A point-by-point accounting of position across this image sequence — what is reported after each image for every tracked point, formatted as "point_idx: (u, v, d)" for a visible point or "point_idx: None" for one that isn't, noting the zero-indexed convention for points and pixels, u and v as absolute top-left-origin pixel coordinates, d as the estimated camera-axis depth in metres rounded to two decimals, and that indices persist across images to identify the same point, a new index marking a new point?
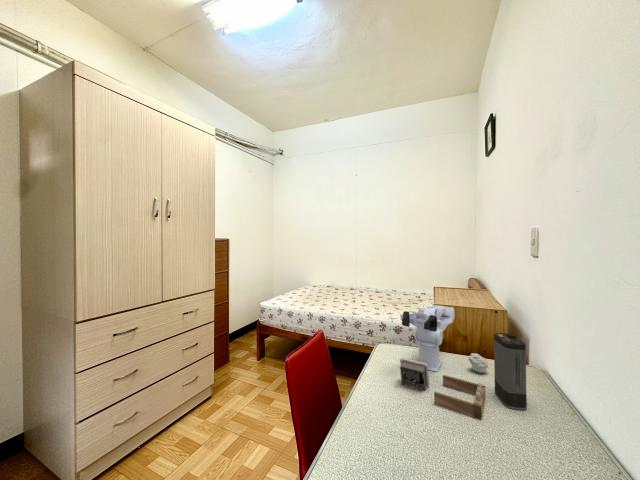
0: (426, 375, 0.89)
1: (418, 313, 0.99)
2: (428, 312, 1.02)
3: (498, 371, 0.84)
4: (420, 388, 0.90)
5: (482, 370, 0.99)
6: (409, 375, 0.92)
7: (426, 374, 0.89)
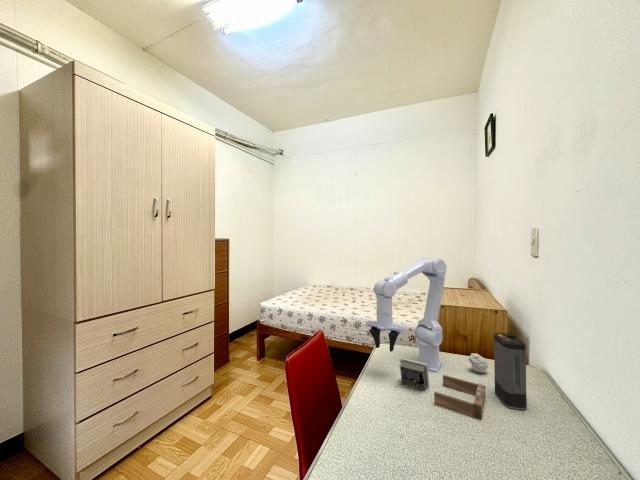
0: (426, 375, 0.89)
1: None
2: (381, 313, 0.96)
3: (498, 371, 0.84)
4: (420, 388, 0.90)
5: (482, 370, 0.99)
6: (409, 375, 0.92)
7: (426, 374, 0.89)
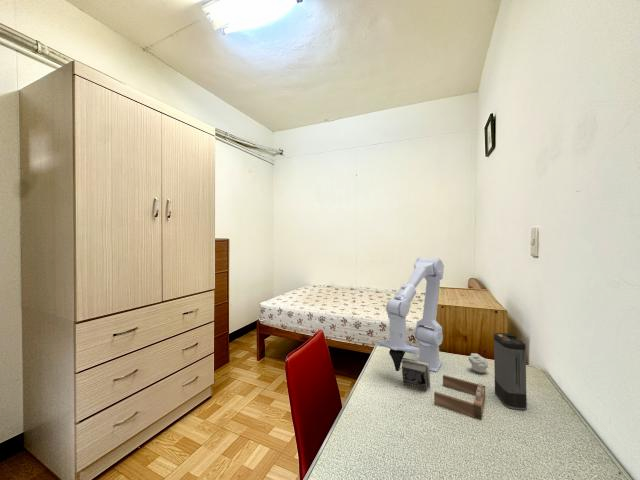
0: (427, 375, 0.89)
1: None
2: (396, 334, 0.93)
3: (498, 371, 0.84)
4: (421, 388, 0.89)
5: (482, 370, 0.99)
6: (410, 375, 0.91)
7: (427, 374, 0.89)
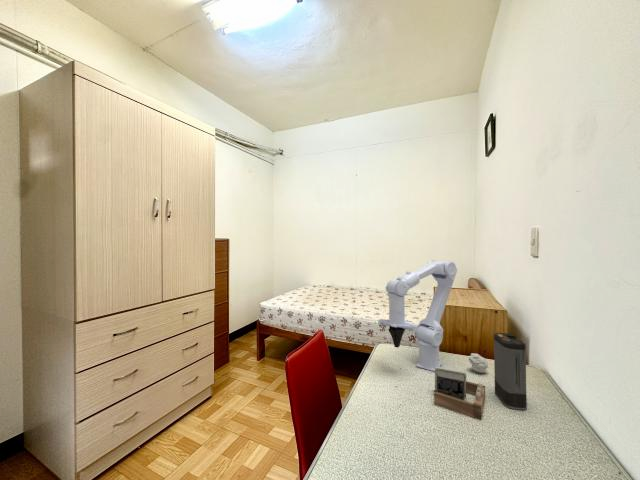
0: (464, 384, 0.84)
1: None
2: (394, 311, 0.98)
3: (498, 371, 0.84)
4: (458, 398, 0.84)
5: (482, 370, 0.99)
6: (445, 385, 0.85)
7: (464, 383, 0.84)
